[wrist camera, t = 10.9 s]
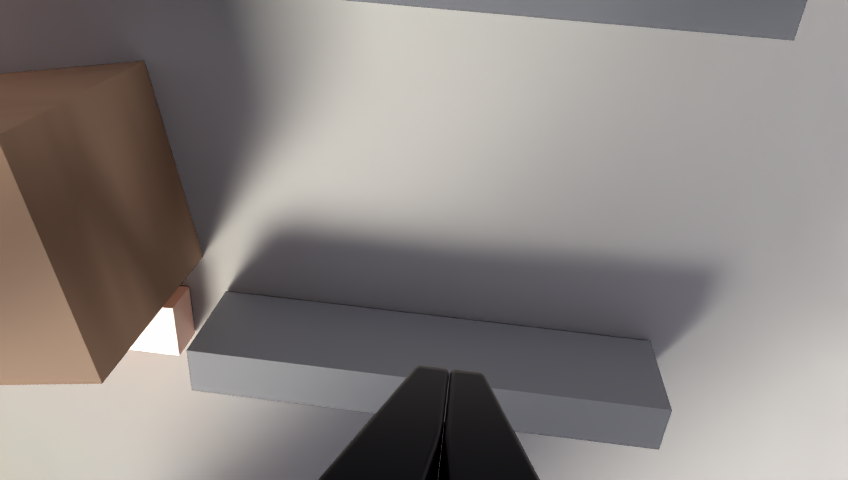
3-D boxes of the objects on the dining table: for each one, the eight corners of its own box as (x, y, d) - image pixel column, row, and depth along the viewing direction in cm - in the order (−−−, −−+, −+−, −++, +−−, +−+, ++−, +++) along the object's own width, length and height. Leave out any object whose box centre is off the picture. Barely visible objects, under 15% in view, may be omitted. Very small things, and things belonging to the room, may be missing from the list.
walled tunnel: (639, 378, 17) (658, 449, 15) (229, 328, 18) (191, 390, 16) (764, -55, 12) (820, -40, 10) (190, -102, 13) (127, -97, 11)
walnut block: (204, 254, 17) (101, 383, 13) (29, 262, 18) (-125, 386, 14) (145, 59, 15) (-4, 136, 10) (-53, 77, 16) (-271, 156, 11)
